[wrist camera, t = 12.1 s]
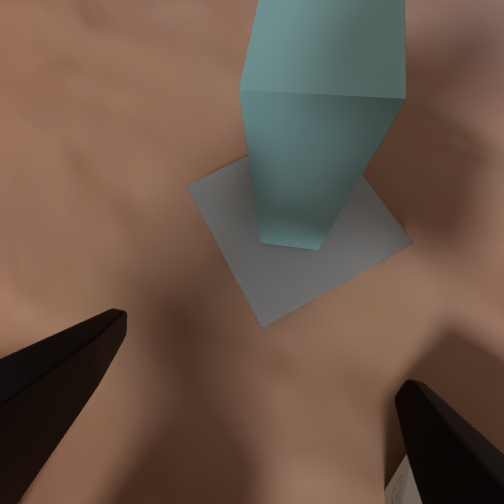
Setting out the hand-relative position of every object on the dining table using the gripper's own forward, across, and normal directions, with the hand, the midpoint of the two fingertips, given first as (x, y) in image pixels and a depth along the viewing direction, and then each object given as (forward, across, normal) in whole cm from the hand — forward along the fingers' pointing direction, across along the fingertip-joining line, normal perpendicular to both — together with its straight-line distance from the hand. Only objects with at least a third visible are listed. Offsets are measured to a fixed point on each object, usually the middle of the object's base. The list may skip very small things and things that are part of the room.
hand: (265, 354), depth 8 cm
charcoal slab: (+15, -2, 0) cm, 15 cm away
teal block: (+12, -1, -2) cm, 13 cm away
